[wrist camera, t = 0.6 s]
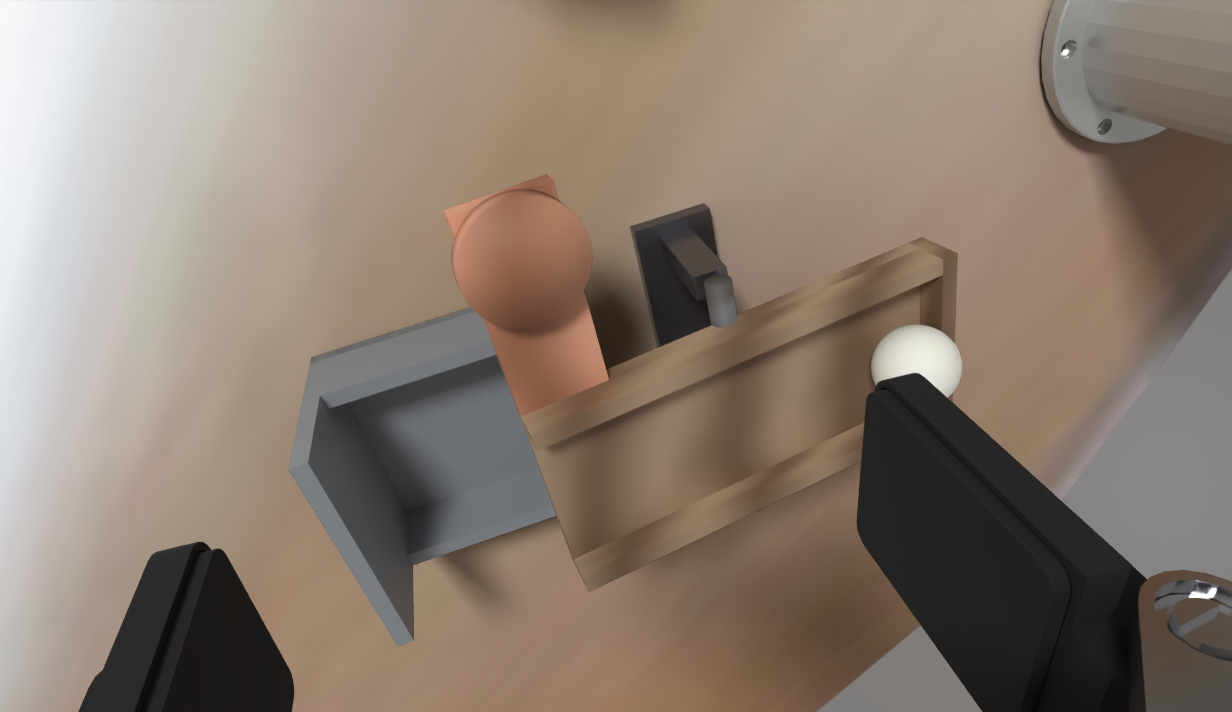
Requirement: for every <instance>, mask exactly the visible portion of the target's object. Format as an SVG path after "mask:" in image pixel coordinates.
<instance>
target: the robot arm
mask: <svg viewBox="0 0 1232 712" xmlns="http://www.w3.org/2000/svg"><path fill="white" fill-rule="evenodd" d="M1041 62H1042V81H1043V85H1044V89H1045V93H1046V97H1047V100H1048V102H1049V104H1050V106H1051V108H1052V110H1053V112H1054V114H1055V116H1056V117H1057V118H1058V119H1059V120H1060V121H1061V122H1062V123H1063V124H1064V126H1065V127H1066V128H1068V129H1070V130H1071V131H1073V132H1075V133H1076V134H1078V135H1080V136H1082V137H1085V138H1088V139H1091V140H1094V141H1097V142H1103V143H1111V144H1121V143H1130V142H1136V141H1139V140H1142V139H1145V138H1148V137H1151V136H1154V135H1156V134H1158V133H1160V132H1162V131H1164V130H1166V129H1168V128H1170V129H1173V130H1177V131H1180V132H1184V133H1188V134H1191V135H1195V136H1199V137H1202V138H1206V139H1210V140H1213V141H1217V142H1220V143H1224V144H1228V145H1231V146H1232V0H1054V2H1053V4H1052V7H1051V10H1050V14H1049V18H1048V21H1047V25H1046V28H1045V32H1044V40H1043V47H1042V55H1041ZM857 529H858V533H859V536H860V538H861V540H862V543H863V544H864V546H865V547H866V549H867V550H868V552H869V553H870V554H871V556H872V557H873V559H874V560H875V561H876V563H877V564H878V566H879V567H880V568H881V570H882V571H883V573H884V574H885V575H886V577H887V578H888V580H889V581H890V582H891V584H892V585H893V587H894V588H895V589H896V591H897V592H898V594H899V595H900V597H901V598H902V599H903V601H904V602H905V604H906V605H907V606H908V608H909V609H910V611H911V612H912V613H913V615H914V616H915V618H916V619H917V620H918V622H919V623H920V625H921V626H922V627H923V629H924V630H925V632H926V633H927V634H928V636H929V637H930V639H931V640H932V641H933V643H934V644H935V646H936V647H937V648H938V650H939V651H940V653H941V654H942V655H943V657H944V658H945V660H946V661H947V663H948V664H949V665H950V667H951V668H952V669H953V671H954V672H955V674H956V675H957V676H958V678H959V679H960V681H961V682H962V684H963V685H964V686H965V688H966V689H967V691H968V692H969V693H970V695H971V696H972V697H973V699H974V700H975V702H976V703H977V705H978V706H979V707H980V709H981V710H982V712H1232V582H1231V581H1229V580H1226V579H1222V578H1220V577H1216V576H1214V575H1210V574H1207V573H1201V572H1195V571H1187V570H1177V571H1164V572H1162V573H1159V574H1157V575H1154V576H1151V577H1149V578H1148V579H1146V578H1145V577H1144V576H1143V575H1141V573H1140V572H1138V571H1137V570H1136V569H1135V568H1134V567H1133V566H1132V565H1131V564H1130V563H1129V562H1128V561H1127V560H1126V559H1125V558H1124V557H1123V556H1121V555H1120V554H1119V553H1118V552H1117V551H1116V550H1115V549H1114V548H1113V547H1112V546H1110V545H1109V544H1108V543H1107V542H1106V541H1105V540H1104V539H1103V538H1102V537H1101V536H1099V535H1098V534H1097V533H1096V532H1095V531H1094V530H1093V529H1092V528H1091V527H1089V526H1088V525H1087V524H1086V523H1085V522H1084V521H1083V520H1082V519H1081V518H1080V517H1078V516H1077V515H1076V514H1075V513H1074V512H1073V511H1072V510H1071V509H1069V508H1068V507H1067V506H1066V505H1065V504H1064V503H1063V502H1062V501H1061V500H1060V499H1059V498H1057V497H1056V496H1055V495H1054V494H1053V493H1052V492H1051V491H1050V490H1049V489H1048V488H1046V487H1045V486H1044V485H1043V484H1042V483H1041V482H1040V481H1039V480H1038V479H1036V478H1035V477H1034V476H1033V475H1032V474H1031V473H1030V472H1029V471H1028V470H1027V469H1025V468H1024V467H1023V466H1022V465H1021V464H1020V463H1019V462H1018V461H1017V460H1016V459H1014V458H1013V457H1012V456H1011V455H1010V454H1009V453H1008V452H1007V451H1006V450H1004V449H1003V448H1002V447H1001V446H1000V445H999V444H998V443H997V442H996V441H995V440H993V439H992V438H991V437H990V436H989V435H988V434H987V433H986V432H985V431H984V430H982V429H981V428H980V427H979V426H978V425H977V424H976V423H975V422H974V421H972V420H971V419H970V418H969V417H968V416H967V415H966V414H965V413H964V412H963V411H961V410H960V409H959V408H958V407H957V406H956V405H955V404H954V403H953V402H952V401H950V400H949V399H948V398H947V397H946V396H945V395H944V394H943V393H942V392H940V391H939V390H938V389H937V388H936V387H935V386H934V385H933V384H932V383H931V382H929V381H928V380H927V379H926V378H925V377H924V376H922V375H921V374H919V373H911V374H906V375H902V376H898V377H894V378H889V379H885V380H882V381H880V382H878V383H877V385H876V387H875V392H872V393H870V394H868V396H867V399H866V407H865V420H864V433H863V446H862V459H861V472H860V485H859V498H858V510H857ZM293 700H294V684H293V678H292V674H291V672H290V670H289V668H288V666H287V664H286V662H285V660H284V659H283V657H282V655H281V653H280V651H279V649H278V648H277V646H276V644H275V642H274V640H273V639H272V637H271V635H270V633H269V631H268V630H267V628H266V626H265V624H264V622H263V621H262V619H261V617H260V615H259V613H258V611H257V610H256V608H255V606H254V604H253V602H252V601H251V599H250V597H249V595H248V593H247V592H246V590H245V588H244V586H243V584H242V582H241V581H240V579H239V577H238V575H237V573H236V572H235V570H234V568H233V566H232V564H231V563H230V561H229V559H228V557H227V555H226V554H225V553H224V551H223V550H221V549H214V550H211V549H210V548H209V546H208V545H207V544H205V543H204V542H196V543H192V544H188V545H183V546H179V547H175V548H171V549H166V550H162V551H158V552H156V553H154V554H153V555H152V556H151V557H150V559H149V560H148V563H147V565H146V567H145V570H144V572H143V575H142V577H141V579H140V582H139V584H138V587H137V589H136V591H135V594H134V596H133V599H132V601H131V603H130V606H129V608H128V611H127V613H126V615H125V618H124V620H123V623H122V625H121V627H120V630H119V632H118V635H117V637H116V639H115V642H114V644H113V647H112V649H111V651H110V654H109V656H108V659H107V661H106V664H105V666H104V668H103V670H102V671H101V672H100V673H99V674H98V675H97V676H96V677H95V678H94V680H93V682H92V683H91V685H90V687H89V688H88V691H87V693H86V695H85V698H84V700H83V702H82V705H81V707H80V709H79V712H292V706H293Z"/></svg>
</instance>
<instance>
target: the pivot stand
mask: <svg viewBox="0 0 1232 712" xmlns="http://www.w3.org/2000/svg"><path fill="white" fill-rule="evenodd" d="M630 229H631V233H632V238H633V242H634V246H635V251H636V255H637V259H638V264H639V268H640V273H641V277H642V281H643V286H644V290H645V294H646V299H647V303H648V308H649V312H650V316H651V321H652V325H653V330H654V334H655V338H656V343H657V347H658V348H659V347H661V346H664V345H666V344H668V343H671V342H673V341H676V340H678V339H680V338H683V337H685V336H688V335H690V334H692V333H695V332H697V331H699V330H702V329H704V328H707V327H709V326H711V321H710V316H709V310H708V305H707V299H706V293H705V288H704V281H705V280H706V279H707V278H709V277H711V276H714V275H728V274H727V267H726V266H725V265H724V264H723V263H722V262H721V260H720V259H719V258H718V257H717V252H716V245H715V239H714V233H713V227H712V221H711V215H710V209H709V208H708V207H707V206H706V205H705V204H701V205H698V206H694V207H691V208H688V209H685V210H682V211H678V212H675V213H672V214H669V215H666V216H662V217H659V218H656V219H653V220H650V221H646V222H643V223H640V224H637V225H634V226H630Z"/></svg>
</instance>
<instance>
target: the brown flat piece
mask: <svg viewBox="0 0 1232 712" xmlns="http://www.w3.org/2000/svg"><path fill="white" fill-rule="evenodd" d="M443 212H444V215H445V218H446V221H447V223H448V226H449V229H450V231H451V234H452V237H453V239H454V243H453V247H452V269H453V274H454V277H455V280H456V282H457V284H458V287H459V289H460V290H461V292H462V294H463V296H464V298H465V300H466V301H467V303H468V304H469V305H470V307H471V308H472V309H473V310H474V311H475V312H476V313H477V314H478V315H480V316H481V317H482V318H483V320H484V323H485V325H486V328H487V331H488V333H489V336H490V339H491V341H492V344H493V347H494V349H495V352H496V355H497V357H498V360H499V363H500V365H501V368H502V371H503V374H504V376H505V379H506V382H507V384H508V387H509V390H510V392H511V395H512V398H513V400H514V403H515V406H516V408H517V411H518V414H519V416H520V419H521V422H522V425H523V427H524V430H525V433H526V435H527V438H528V441H529V443H530V446H531V449H532V451H533V454H534V457H535V459H536V462H537V465H538V467H539V470H540V473H541V476H542V478H543V481H544V484H545V486H546V489H547V492H548V494H549V497H550V500H551V502H552V505H553V508H554V510H555V513H556V516H557V518H558V521H559V524H560V527H561V529H562V532H563V535H564V537H565V540H566V543H567V545H568V548H569V551H570V553H571V556H572V559H573V561H574V563H575V565H576V567H577V569H578V571H579V573H580V576H581V578H582V580H583V582H584V584H585V586H586V588H587V590H588V592H590V591H593V590H595V589H597V588H599V587H601V586H603V585H605V584H607V583H609V582H611V581H613V580H615V579H617V578H619V577H622V576H624V575H626V574H628V573H630V572H632V571H634V570H636V569H638V568H640V567H642V566H644V565H646V564H648V563H651V562H653V561H655V560H657V559H659V558H661V557H663V556H665V555H667V554H669V553H671V552H673V551H675V550H677V549H679V548H682V547H684V546H686V545H688V544H690V543H692V542H694V541H696V540H698V539H700V538H702V537H704V536H706V535H708V534H711V533H713V532H715V531H717V530H719V529H721V528H723V527H725V526H727V525H729V524H731V523H733V522H735V521H737V520H740V519H742V518H744V517H746V516H748V515H750V514H752V513H754V512H756V511H760V510H762V509H763V508H764V507H766V506H768V505H771V504H773V503H775V502H777V501H779V500H781V499H783V498H785V497H787V496H789V495H791V494H793V493H795V492H797V491H800V490H802V489H804V488H806V487H808V486H810V485H812V484H814V483H816V482H818V481H820V480H822V479H824V478H826V477H829V476H831V475H833V474H835V473H837V472H839V471H841V470H843V469H845V468H847V467H849V466H851V465H853V464H855V463H857V462H860V461H861V459H862V446H863V433H864V420H865V407H866V399H867V396H868V394H870V393H872V392H875V387H876V385H875V383H874V380H873V377H872V372H871V361H872V356H873V353H874V351H875V349H876V347H877V345H878V344H879V342H880V341H881V340H882V339H883V338H884V337H885V336H886V335H887V334H888V333H890V332H891V331H893V330H895V329H897V328H900V327H903V326H907V325H925V326H930V327H933V328H935V329H938V330H939V331H941V332H943V333H944V334H946V335H947V336H948V337H949V338H950V339H951V340H952V341H953V342H954V344H955V318H956V289H957V259H958V253H956V252H954V251H951V250H949V249H947V248H945V247H942V246H940V245H938V244H936V243H933V242H931V241H929V240H927V239H925V238H919V239H917V240H914V241H912V242H910V243H907V244H905V245H902V246H900V247H898V248H895V249H893V250H890V251H888V252H886V253H883V254H881V255H879V256H876V257H874V258H871V259H869V260H867V261H864V262H862V263H859V264H857V265H855V266H852V267H850V268H847V269H845V270H843V271H840V272H838V273H836V274H833V275H831V276H828V277H826V278H824V279H821V280H819V281H816V282H814V283H812V284H809V285H807V286H805V287H802V288H800V289H797V290H795V291H793V292H790V293H788V294H785V295H783V296H781V297H778V298H776V299H773V300H771V301H769V302H766V303H764V304H762V305H759V306H757V307H754V308H752V309H750V310H747V311H745V312H742V313H740V314H738V315H737V312H736V306H735V299H734V293H733V286H732V280H731V277H730V276H728V275H714V276H711V277H709V278H707V279H706V280H705V281H704V288H705V293H706V299H707V305H708V310H709V316H710V321H711V326H709V327H707V328H704V329H702V330H699V331H697V332H695V333H692V334H690V335H688V336H685V337H683V338H680V339H678V340H676V341H673V342H671V343H668V344H666V345H664V346H661V347H659V348H656V349H654V350H652V351H649V352H647V353H645V354H642V355H640V356H637V357H635V358H633V359H630V360H628V361H625V362H623V363H621V364H618V365H616V366H613V367H611V368H609V369H606V367H605V363H604V360H603V356H602V353H601V349H600V345H599V342H598V338H597V335H596V331H595V328H594V324H593V320H592V317H591V313H590V310H589V306H588V302H587V299H586V295H585V292H584V289H585V287H586V285H587V283H588V280H589V277H590V273H591V268H592V259H593V256H592V246H591V241H590V238H589V235H588V232H587V230H586V228H585V226H584V225H583V223H582V222H581V221H580V219H579V218H578V217H577V216H576V215H575V214H574V213H573V212H572V211H571V210H570V209H569V208H568V207H567V206H565V205H564V204H563V203H562V202H561V201H559V198H558V195H557V191H556V188H555V184H554V181H553V179H552V178H551V177H550V176H548V175H547V174H545V175H543V176H540V177H537V178H534V179H531V180H528V181H526V182H523V183H520V184H517V185H514V186H511V187H509V188H506V189H503V190H500V191H497V192H495V193H492V194H489V195H486V196H483V197H480V198H478V199H475V200H472V201H469V202H466V203H463V204H461V205H458V206H455V207H452V208H449V209H446V210H444V211H443ZM948 399H949V400H950V401H952V402H953V393H952V394H951V395H950V396H949V397H948Z"/></svg>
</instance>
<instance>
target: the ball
mask: <svg viewBox="0 0 1232 712" xmlns="http://www.w3.org/2000/svg"><path fill="white" fill-rule="evenodd" d="M871 372H872V377H873V380H874V383H875V385H877V383H878V382H880V381H882V380H885V379H889V378H894V377H898V376H902V375H906V374H911V373H919V374H921V375H922V376H924V377H925V378H926V379H927V380H928V381H929V382H931V383H932V384H933V385H934V386H935V387H936V388H937V389H938V390H939V391H940V392H942V393H943V394H944V395H945V396H946V397H947V398H948V397H949V396H950V395H951V394H952V393H953V392H954V390H955V389H956V387H957V386H958V384H959V381H960V378H961V374H962V360H961V356H960V353H959V351H958V349H957V347H956V345H955V344H954V342H953V341H952V340H951V339H950V338H949V337H948V336H947V335H946V334H944V333H943V332H941V331H939V330H938V329H935V328H933V327H930V326H925V325H907V326H903V327H900V328H897V329H895V330H893V331H891V332H890V333H888V334H887V335H886V336H885V337H884V338H883V339H882V340H881V341H880V342H879V344H878V345H877V347H876V349H875V351H874V353H873V356H872V361H871Z"/></svg>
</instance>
